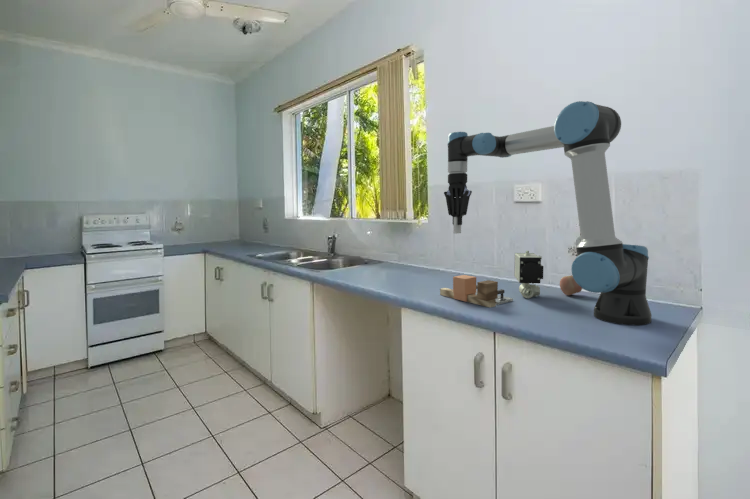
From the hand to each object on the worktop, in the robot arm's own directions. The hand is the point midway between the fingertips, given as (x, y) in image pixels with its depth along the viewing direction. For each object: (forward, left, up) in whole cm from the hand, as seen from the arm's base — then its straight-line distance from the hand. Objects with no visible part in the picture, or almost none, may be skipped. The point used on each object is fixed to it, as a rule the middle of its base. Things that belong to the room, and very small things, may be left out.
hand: (457, 233), depth 158 cm
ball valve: (-21, -17, -25) cm, 37 cm away
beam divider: (-11, +3, -24) cm, 27 cm away
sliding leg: (-10, +3, -24) cm, 26 cm away
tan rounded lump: (-30, -31, -25) cm, 50 cm away
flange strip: (-11, -2, -24) cm, 27 cm away
